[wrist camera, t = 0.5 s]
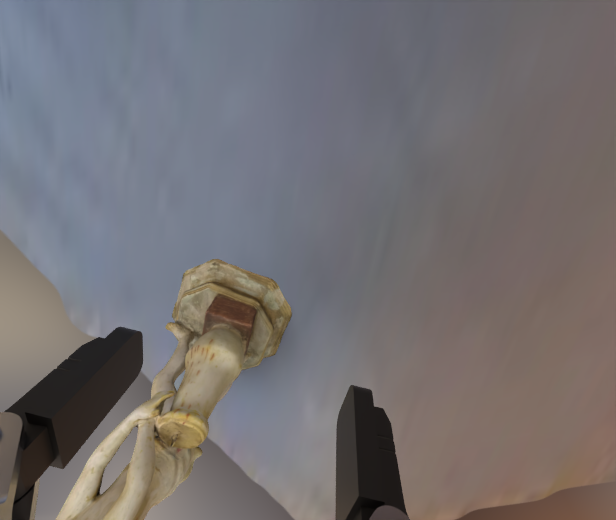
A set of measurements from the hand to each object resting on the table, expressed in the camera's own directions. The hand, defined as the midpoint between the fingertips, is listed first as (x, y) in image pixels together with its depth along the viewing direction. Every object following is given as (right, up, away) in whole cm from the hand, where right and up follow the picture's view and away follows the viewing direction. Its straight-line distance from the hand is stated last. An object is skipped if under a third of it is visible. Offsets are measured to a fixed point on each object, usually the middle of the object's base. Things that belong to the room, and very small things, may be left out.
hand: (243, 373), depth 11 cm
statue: (-9, -4, +34) cm, 35 cm away
